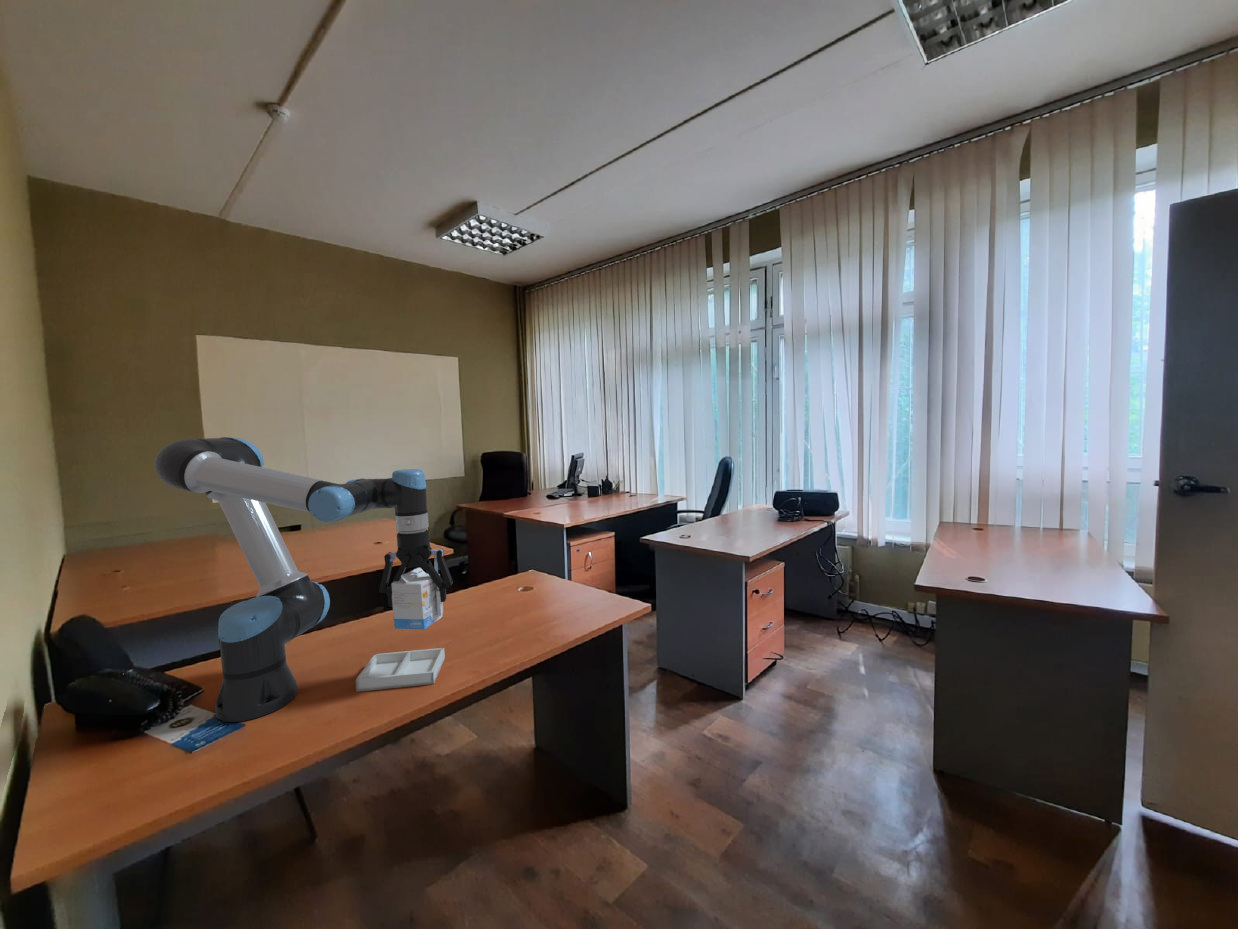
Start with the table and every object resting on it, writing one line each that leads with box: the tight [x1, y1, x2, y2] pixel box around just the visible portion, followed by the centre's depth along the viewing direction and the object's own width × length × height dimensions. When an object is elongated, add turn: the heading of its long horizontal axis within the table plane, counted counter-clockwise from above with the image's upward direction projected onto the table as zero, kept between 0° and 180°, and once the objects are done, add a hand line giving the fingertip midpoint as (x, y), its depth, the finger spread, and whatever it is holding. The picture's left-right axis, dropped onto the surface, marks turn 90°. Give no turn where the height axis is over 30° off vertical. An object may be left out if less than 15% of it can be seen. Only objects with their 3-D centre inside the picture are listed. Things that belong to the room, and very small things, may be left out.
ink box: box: [391, 567, 444, 631], centre depth 121 cm, size 9×8×13 cm
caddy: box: [355, 647, 446, 693], centre depth 122 cm, size 18×13×3 cm
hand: (418, 616), depth 121 cm, fingers closed on ink box, 10 cm apart
